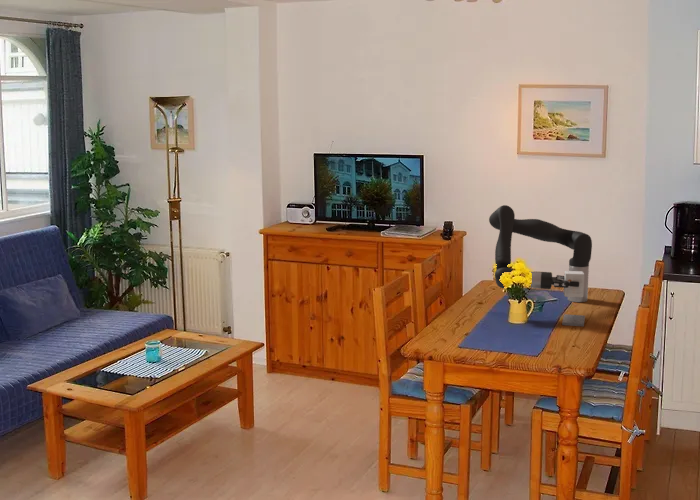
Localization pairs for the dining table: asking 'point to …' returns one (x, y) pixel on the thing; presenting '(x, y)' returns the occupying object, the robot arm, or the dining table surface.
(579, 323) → the slate tile
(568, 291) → the small box
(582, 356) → the dining table surface
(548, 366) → the dining table surface
